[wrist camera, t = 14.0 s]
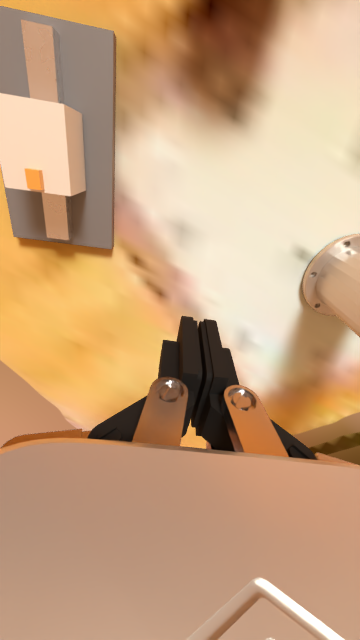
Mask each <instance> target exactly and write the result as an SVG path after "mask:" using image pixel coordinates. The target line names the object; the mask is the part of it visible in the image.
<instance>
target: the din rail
mask: <svg viewBox="0 0 360 640" xmlns="http://www.w3.org/2000/svg"><path fill="white" fill-rule="evenodd" d="M21 26H22V34H23V43H24V51H25V59H26V67H27V76H28V84H29V92H30V98H32V99H37V100H43V101H49V102H55V103H60V104H64V92H63V77H62V63H61V48H60V35H59V34H58V32H57V31H56V30H55V29H54V28H53V27H52V26H49V25H44V24H40V23H35V22H31V21H26V20H21ZM42 200H43V208H44V217H45V225H46V233H47V238H54V239H62V240H70V239H71V238H72V237H73V224H72V210H71V196H64V195H57V194H50V193H42Z"/></svg>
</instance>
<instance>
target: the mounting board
mask: <svg viewBox="0 0 360 640" xmlns="http://www.w3.org/2000/svg"><path fill="white" fill-rule="evenodd" d="M21 20H26V21H31V22H35V23H40V24H44V25H49V26H52V27H53V28H54V29H55V30H56V31H57V32H58V34H59V35H60V48H61V63H62V77H63V92H64V104H65V105H66V106H68V107H70V108H72V109H74V110H76V111H78V112H80V113H82V122H83V142H84V162H85V182H86V191H83V192H81V193H78V194H76V195H73V196H71V210H72V224H73V237H72V238H71V239H70V240H62V239H54V238H47V233H46V225H45V217H44V208H43V200H42V192H35V191H28V190H21V189H13V188H6V187H5V184H4V187H5V192H6V197H7V203H8V208H9V213H10V219H11V224H12V230H13V235H14V237H20V238H28V239H35V240H43V241H51V242H59V243H67V244H74V245H82V246H90V247H98V248H105V249H112V248H113V246H114V171H115V89H116V36H115V34H114V31H111V30H106V29H102V28H97V27H93V26H88V25H84V24H79V23H75V22H70V21H66V20H61V19H57V18H53V17H48V16H44V15H39V14H35V13H30V12H26V11H21V10H17V9H12V8H8V7H3V6H0V93H3V94H9V95H14V96H20V97H26V98H30V92H29V84H28V76H27V67H26V59H25V51H24V43H23V34H22V26H21ZM0 165H1V164H0ZM1 171H2V169H1ZM2 176H3V174H2ZM3 181H4V179H3Z"/></svg>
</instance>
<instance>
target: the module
mask: <svg viewBox="0 0 360 640" xmlns="http://www.w3.org/2000/svg"><path fill="white" fill-rule="evenodd" d="M0 164H1V169H2V174H3V179H4V184H5V187H6V188H13V189H21V190H28V191H35V192H42V193H50V194H57V195H64V196H73V195H76V194H78V193H81V192H83V191H86V182H85V162H84V142H83V122H82V113H80V112H78V111H76V110H74V109H72V108H70V107H68V106H66V105H65V104H60V103H55V102H49V101H43V100H37V99H32V98H26V97H20V96H14V95H9V94H3V93H0Z"/></svg>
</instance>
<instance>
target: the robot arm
mask: <svg viewBox="0 0 360 640" xmlns="http://www.w3.org/2000/svg"><path fill="white" fill-rule="evenodd" d="M302 289H303V295H304V298H305V300H306V302H307V303H308V304H309V305H310V306H311V307H312V308H313V309H314V310H315V311H317V312H319V313H321V314H324V315H331V316H337V317H338V318H339V319H340V320H342V321H343V322H344V323H345V324H346V325H347V326H348V327H349V328H350V329H351V330H352V331H353V332H354V333H356V334H357V335H358V336H359V337H360V234H352V235H348V236H345V237H342V238H340V239H337V240H335V241H334V242H332V243H330V244H329V245H327V246H326V247H325V248H324V249H322V250H321V251H320V252H319V253H318V254H317V255H316V256H315V258H314V259H313V260H312V262H311V263H310V265H309V266H308V268H307V270H306V272H305V275H304V279H303V286H302ZM190 419H191V426H192V427H196V436H202V437H203V438H204V439H205V440H206V441H207V443H206V449H202V448H192V447H181V446H180V442H181V438H182V437H183V436H184V435H185V434H186V432H187V428H188V426H189V423H190ZM0 640H360V465H356V464H352V463H350V462H346V461H343V460H340V459H337V458H334V457H331V456H327V455H324V454H321V453H318V452H317V453H316V454H315V455H314V454H313V453H312V451H311V450H310V449H309V448H307V447H306V446H305V445H304V444H302V443H301V442H300V441H298V440H297V439H296V438H295V437H293V436H292V435H291V434H289V433H288V432H287V431H285V430H284V429H283V428H281V427H280V426H279V425H277V424H276V423H275V422H273V421H272V420H271V419H269V417H268V415H267V413H266V411H265V409H264V407H263V405H262V403H261V401H260V399H259V398H258V396H257V395H256V394H255V393H254V392H253V391H252V390H250V389H249V388H247V387H244V386H241V385H239V382H238V378H237V375H236V371H235V367H234V363H233V360H232V356H231V352H230V349H228V348H222V345H221V340H220V336H219V332H218V327H217V323H216V321H215V320H207V319H204V321H203V322H201V321H200V322H199V326H197V321H194V320H193V317H186V316H182V317H181V321H180V327H179V332H178V337H177V342H176V341H168V340H163V344H162V350H161V357H160V364H159V373H158V379H156V380H155V381H154V382H153V383H152V385H151V387H150V390H149V393H148V395H147V396H146V397H144V398H142V399H141V400H139V401H137V402H136V403H134V404H132V405H131V406H129V407H127V408H126V409H124V410H122V411H120V412H119V413H117V414H115V415H114V416H112V417H110V418H109V419H107V420H105V421H104V422H102V423H100V424H99V425H97V426H96V427H95V428H93V429H92V431H83V432H82V429H74V430H65V431H55V432H46V433H35V434H25V435H21V436H17V437H14V438H13V439H11V440H9V441H7V442H6V443H5V444H4V445H3V446H2V447H1V448H0Z"/></svg>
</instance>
